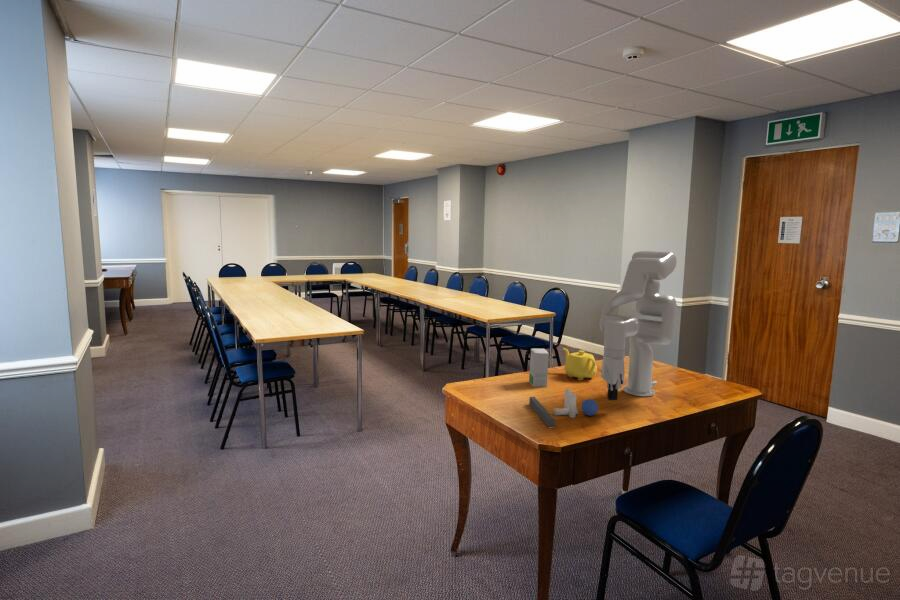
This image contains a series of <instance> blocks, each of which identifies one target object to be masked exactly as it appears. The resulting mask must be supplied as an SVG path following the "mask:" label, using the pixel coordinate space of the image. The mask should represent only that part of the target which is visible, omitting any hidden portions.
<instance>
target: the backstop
mask: <svg viewBox="0 0 900 600" xmlns="http://www.w3.org/2000/svg"><path fill="white" fill-rule="evenodd" d="M528 401H529V402H528V403H529V404H528V405H529V406H530V407H531V408H532V409H533V411H534V412H535V413H536V414H537V416H538V417H539V418H540V419H541V420H542V421H543V423H544V422H545V423H544V424H545V425H546V426H547V427H555V426H556V425H555V424H556V420H555V418H554V416H552V415H551V414H550V412H549V411H548V410H547V409H546V408H545V406H543V405H542V403H541V402H540V400H538V399H537V397H536V396H529V400H528ZM555 428H556V427H555Z"/></svg>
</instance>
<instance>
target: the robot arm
mask: <svg viewBox="0 0 900 600" xmlns="http://www.w3.org/2000/svg"><path fill="white" fill-rule="evenodd" d="M676 266H677V256H676V254H674V252H670V251H652V250H649V251H648V250H640V251H636V252H634V253H633V254H632V256H631V260H630V261H629V262H628V265H627V268H626V271H625V276H624V279H623V282H622V286H621V288H620V290H619V291H618V292H616V293H615V294H613V295H612V296H611V297H610V298H609V299H608V300H607V301H606V302H605V304H604V306H603V308H602V312H601V315H600V319H599V329H600V331H601V332H603V334H604V336H603V337H604V338H603V340H604V341H603V357H602V364H601V371H600V372H601V378H602V380H604V381H605V382H606V384H607V396H606V397H607V400H609V401H618V395H619V394H618V392H619V390H621V389H622V390H623V392H624V393H625V394H629V395H632V396H636V397H652V396H654V395H655V394H656V390H654V389H653V387H654V386H657V385H658V382H657V381H656V380H653V379H652V377H653V368H654V367H653V365H654V364H653V363H654V362H653V361H654V351H653V348H652V347H651V345H650V344H656V345H663V346H664V345H666V346H667V345H670V344H671V343H672V341H673V339H674V332H675V325H676V317H677V307H678V305H677V304H678V303H677V299H675V297H674V296H672V295H667V294H660V286H661V284H660V283H661V282H660V281H662V280H664V279H666V278H667V277H669V276H670V275H671V274H673V272H674V270H675V268H677V267H676ZM633 302H635V312H636V314H638V315H640V316H644V317H651V318H660V319H661V320H656V319H655V320H654V319H646V318H636V317H633V316H629V315H622V314H621V315H619V314H614V311H616V310H617V309H618V308H620V307H621V306H624V305H626V304H631V303H633ZM627 338H628V339H629V353H628V365H627V366H628V370H627V371H628V372H627V383H626V384H627V385H625V386H623V387H622V385H623V384H624V383H625V376H626V375H625V371H626V370H625V359H624V358H626V339H627ZM652 380H653V381H652Z"/></svg>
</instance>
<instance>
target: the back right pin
mask: <svg viewBox="0 0 900 600" xmlns="http://www.w3.org/2000/svg"><path fill="white" fill-rule="evenodd" d="M571 393H572V389H568V388H567V389H566V388H565V389H564V406H563V408H569V400H570V394H571Z"/></svg>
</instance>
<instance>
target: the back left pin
mask: <svg viewBox="0 0 900 600" xmlns="http://www.w3.org/2000/svg"><path fill="white" fill-rule="evenodd" d="M576 408H577V394H576V393H572V392H571V394H570V400H569V415H568V417H569V418H570V417H571V419H576V417H577V416H576Z"/></svg>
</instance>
